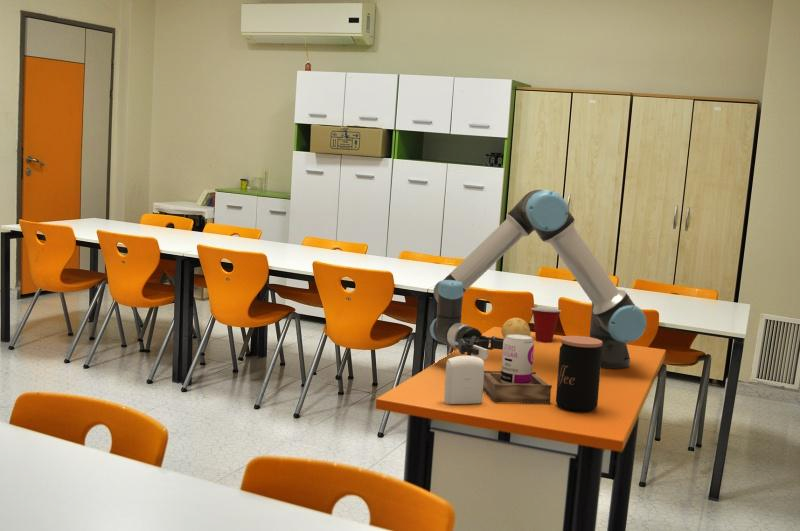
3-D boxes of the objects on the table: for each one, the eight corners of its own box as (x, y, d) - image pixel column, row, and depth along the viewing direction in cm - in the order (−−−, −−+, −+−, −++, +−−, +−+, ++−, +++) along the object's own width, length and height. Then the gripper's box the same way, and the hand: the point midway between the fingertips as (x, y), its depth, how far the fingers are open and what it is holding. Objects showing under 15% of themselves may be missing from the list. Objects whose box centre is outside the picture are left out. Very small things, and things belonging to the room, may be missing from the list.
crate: (534, 388, 242) (535, 371, 242) (550, 403, 227) (552, 385, 227) (480, 387, 240) (481, 370, 240) (493, 402, 225) (494, 384, 225)
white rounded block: (446, 405, 220) (449, 357, 219) (441, 400, 224) (444, 354, 223) (484, 404, 223) (487, 357, 222) (478, 400, 227) (482, 354, 226)
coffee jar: (550, 401, 230) (555, 334, 228) (589, 402, 231) (595, 336, 229) (561, 412, 219) (567, 343, 217) (602, 414, 220) (608, 344, 218)
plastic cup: (557, 339, 319) (560, 307, 318) (560, 344, 308) (562, 311, 307) (528, 336, 320) (530, 304, 318) (529, 342, 309) (532, 309, 308)
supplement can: (532, 389, 236) (536, 335, 235) (527, 396, 229) (531, 341, 227) (503, 385, 239) (507, 332, 237) (497, 392, 231) (501, 337, 229)
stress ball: (506, 345, 307) (491, 328, 302) (525, 324, 308) (510, 308, 303) (521, 355, 298) (505, 338, 293) (540, 334, 299) (525, 317, 294)
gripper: (499, 348, 262) (542, 364, 243) (428, 352, 250) (468, 369, 231) (500, 324, 261) (544, 338, 242) (429, 327, 249) (470, 342, 230)
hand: (507, 353), depth 237 cm, fingers open, 13 cm apart
